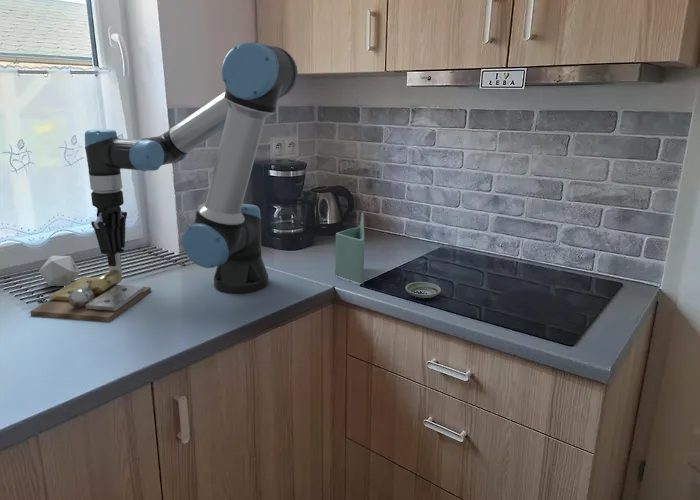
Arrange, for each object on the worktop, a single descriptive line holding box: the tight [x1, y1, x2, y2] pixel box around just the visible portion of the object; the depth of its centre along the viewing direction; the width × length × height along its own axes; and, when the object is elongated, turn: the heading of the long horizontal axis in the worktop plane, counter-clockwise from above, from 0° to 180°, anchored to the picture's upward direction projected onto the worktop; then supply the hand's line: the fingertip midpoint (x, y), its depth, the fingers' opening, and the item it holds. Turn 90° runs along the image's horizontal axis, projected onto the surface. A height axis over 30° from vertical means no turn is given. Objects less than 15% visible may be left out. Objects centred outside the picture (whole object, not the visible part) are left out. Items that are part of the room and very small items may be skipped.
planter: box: [334, 212, 365, 285], centre depth 155 cm, size 16×8×20 cm, turn 2°
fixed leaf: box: [68, 284, 145, 311], centre depth 133 cm, size 12×14×4 cm
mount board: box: [30, 285, 152, 323], centre depth 134 cm, size 20×20×1 cm
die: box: [38, 255, 81, 287], centre depth 145 cm, size 8×9×10 cm
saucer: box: [404, 281, 442, 299], centre depth 144 cm, size 10×10×2 cm
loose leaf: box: [48, 270, 123, 301], centre depth 138 cm, size 12×14×4 cm
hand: (116, 275), depth 144 cm, fingers closed
